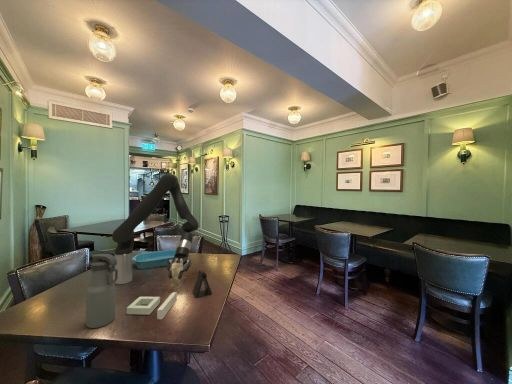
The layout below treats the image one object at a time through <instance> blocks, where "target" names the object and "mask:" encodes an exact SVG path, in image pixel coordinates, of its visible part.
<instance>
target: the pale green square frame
mask: <svg viewBox="0 0 512 384" xmlns="http://www.w3.org/2000/svg"><path fill="white" fill-rule="evenodd" d="M160 303H161V296H139V297H138V298H136V299H135V300H134V301H133V302H132V303H130V304H129V305H128V306H127V307H126V315H148V316H149V315H151V314H152V312H153V311H154V310H155V309H156V308H157V307H158V306H159V305H160Z"/></svg>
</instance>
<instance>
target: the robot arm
mask: <svg viewBox="0 0 512 384" xmlns="http://www.w3.org/2000/svg"><path fill="white" fill-rule="evenodd" d="M179 182H180V181H179V178H178V177H177V176H176V175H175V174H173V173H165V174H163V175H161V177H160V179H159V180H158V181H157V183H156V184H155V185H154V187H153V188H152V189H151V191H149V192H148V193H147V194H146V195H145V197H143V198H142V200H141V201H140V202H139V203H138V204H137V205H136V206H135V207H134V209H133V211H131V213H130V214H129V215H128V217H126V219H125V220H124V221H123V222H122V223H121V224H120V225H119V226H117V228H116V229H115V230H114V231H113V232H112V237H111V238H112V241H113V242H114V243H116V244H117V245H116V246H115V249H114V257H115V258H116V260H117V265H115V269H117V270H118V278H117V280H116V281H115V282H114V284H115V285H126V284H128V283H130V282H132V281H133V261H132V258H133V249H134V246H135V231H134V230H135V229H136V228H137V227H138V226H139V225H141V224H142V223H143V222H144V221H146V220H147V219H148V218H149V217H150V216H151V215H152V214H153V213H154V211H155V210H156V209H157V207H158V206H159V204H160V203H161V201H162V199H163V198H164V196H166V194H167V193H168V192H169V193H170V195H171V197H172V200H173V203H174V206H175V209H176V212H177V214H178V216H179V218H180V219H181V220H185V221H186V222H185V221H184V222H183V223H182V225H181V230H180V232H181V234H180V235H181V236H180V239H179V242H178V244H177V246H176V252H175V255H174V258H173V259H171V260H169V259H168V260H167V266H166V269H167V271H168V276H167V277H168V279H169V280H172V265H171V263H172V262H173V263H180V264H181V268H180V272H179V276H178V279H180V280H182V278H183V275H184V272H188V271H189V269H190V268H191V266H192V263H193V262H192V259H188V258H189V255H190V251H191V248H192V242H193V239H194V235H193V234H192V232H195V231H197V230H199V226H200V225H199V222H198V220H197V219H196V218H195V216H194V215H193V214H192V213H191V211H190V208H189V206H188V204H187V203H186V202H187V201H186V200H185V198H184V196H183V193H182V190H181V187H180V183H179ZM114 279H115V271H114V272H112V281H113V280H114Z"/></svg>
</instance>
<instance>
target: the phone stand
mask: <svg viewBox="0 0 512 384" xmlns="http://www.w3.org/2000/svg"><path fill="white" fill-rule="evenodd" d="M207 277H208V276H207V273H206V272H205V271H204V270H203V269H201V270H198V272H197V278H196V281H195V283H194V286H193V289H192V295H193V296H194V298H195V299H198V298H203V297H207V296H211V295H213V292H212V289H211V287H210V284H209V282H208V279H207ZM202 284H203V286H204V290H201V289H202Z"/></svg>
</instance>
